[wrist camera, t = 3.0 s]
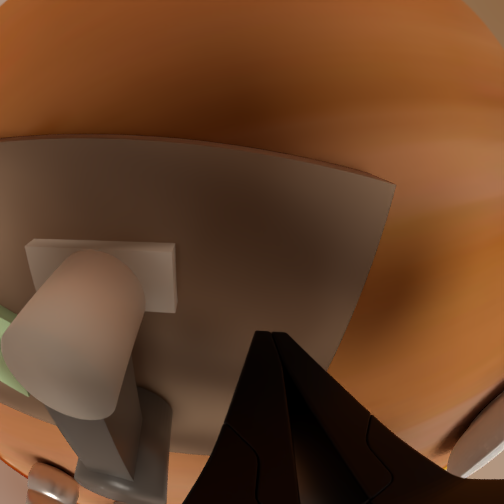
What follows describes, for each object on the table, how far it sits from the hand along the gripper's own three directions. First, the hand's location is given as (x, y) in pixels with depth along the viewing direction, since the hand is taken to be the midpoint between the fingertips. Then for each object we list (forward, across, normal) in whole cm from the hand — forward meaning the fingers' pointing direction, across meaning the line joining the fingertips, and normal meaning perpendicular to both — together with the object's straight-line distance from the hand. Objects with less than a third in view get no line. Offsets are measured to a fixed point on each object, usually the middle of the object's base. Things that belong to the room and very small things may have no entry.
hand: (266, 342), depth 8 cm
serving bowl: (+4, -38, +18) cm, 42 cm away
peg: (+2, +4, +3) cm, 6 cm away
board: (+4, +6, +3) cm, 8 cm away
